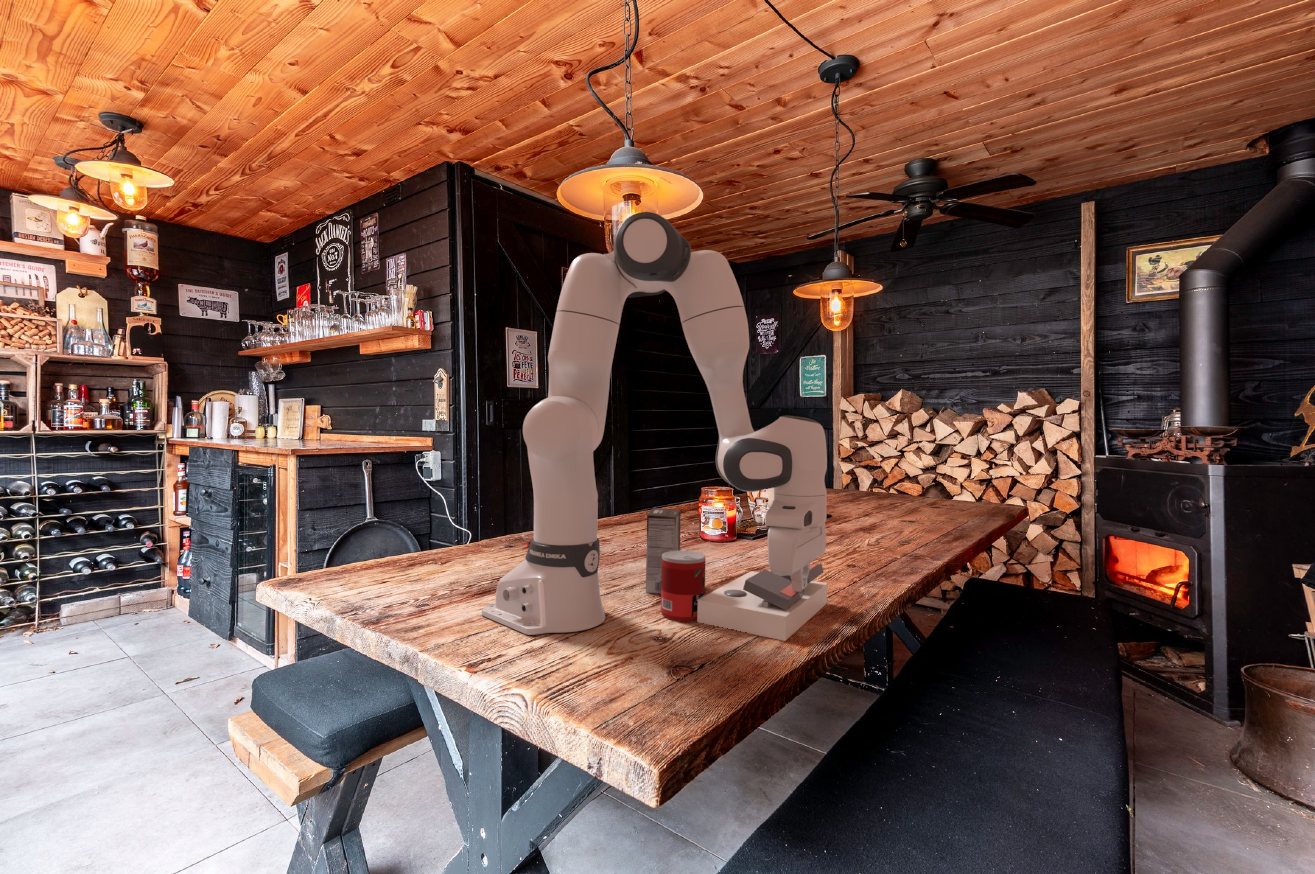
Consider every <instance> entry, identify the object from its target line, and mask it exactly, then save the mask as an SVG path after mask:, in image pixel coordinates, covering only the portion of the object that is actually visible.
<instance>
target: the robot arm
mask: <svg viewBox="0 0 1315 874" xmlns="http://www.w3.org/2000/svg"><path fill="white" fill-rule="evenodd" d="M664 292H668V293H669V294H670V295H671V296H672V297H673V299H674V302H675V304H676V306H677V310H678V314H679V318H680V323H681V327H682V331H683V333H684V337H685V341H686V343H687V345H688V349H689V350H690V354H691V355H692V358H693V360H694V361H695V364H696V366H697V368H698V370H699V372H700V374H701V376H702V379H703V380H704V382H705V385H706V388H707V391H708V393H709V397H710V403H711V406H712V410H713V411H712V412H713V414H714V415H713V416H714V420H715V423H716V428H717V434H718V441H717V447H716V452H715V457H714V458H715V466H716V470H717V473H718V474H719V476H720V477H721V479H722V480H723V481H725V482H726V483H727V484H729V485H730V486H732V487H735V488H736V489H737V490H740V491H742V492H748V493H755V492H759V491H763V490H769V489H773V496H774V497H773V498H774V499H773V501H772V504H771V506H770V507H769V509H767V512H766V513H765V516H764V517H765V518H764V523H765V525H766V526H768V527H769V528H768V531H767V558H768V559H767V560H768V567H769V571H770V572H772V573H774V574H780V575H788V576H790V577H791V580H792V590H793V591H797V592H801V591H802V590H803V589H805V588H806V587H807V578H808V574H809V570H810V565H811V563H812V562H814V560H816V559H818V558H819V557H821V556H822V555H824V554H825V552H826V547H827V535H826V534H827V533H826V529H827V528H826V521H827V513H828V512H827V509H828V508H827V504H828V503H827V500H828V499H827V495H828V491H827V488H826V482H825V476H826V473H827V469H828V453H827V440H826V439H827V438H826V434H825V429H824V428H823V425H821V423H819V422H818V421H816V420H814V419H811V418H807V417H801V416H795V415H782V416H779V418H778V419H776V420H775V421H774V422H772V423H770V424H768V425H766V426H765V427H762V428H760V429H758V430H756V431H755V430H754V428H753V426H752V422H751V418H750V413H749V408H748V404H747V400H746V395H745V392H744V391H745V390H744V383H743V380H744V379H743V378H744V377H743V376H744V368H745V364H746V361H747V356H748V353H749V350H750V333H749V330H750V329H749V323H748V316H747V313H746V310H745V309H746V307H745V304H744V300H743V296H742V294H741V291H740V287H739V285H738V282H737V279H736V278H735V274H734V273H733V270H732V268H731V265H730V263H729V261H728V259H727V258H726V257H725V255H723V254H722V253H720V252H719V251H716V250H712V249H709V250H707V249H702V250H697V251H692V246H691V244H690V242H689V241H688V240H687V239H686V238H685V237H684V236H683V235H682V234H681V233H680V232H679V231H678V229H676V227H675V226H674V225H673V224H672V223H671V222H670V221H669V220H667V219H666V218H665V217H663V216H661V215H660V214H657V213H655V212H651V211H641V212H637V213H634V214H632V215H630V216H628V217H626V219H625V220H623V222H622V223H620V226H619V227H618V229H617V231H616V234H615V236H614V241H613V251H610V252H609V253H603V254H602V253H598V252H597V253H596V252H590V253H589V252H588V253H583V254H580V255H578V256H577V257H575V258H574V259H573V260H572V262H571V264H570V266H569V269H567V273H566V275H565V278H564V281H563V284H562V288H561V291H560V295H559V297H558V298H559V299H558V303H557V307H556V312H555V317H554V322H553V328H552V333H551V339H550V343H549V349H548V355H547V362H548V393H547V398H544V399H542V400H540V401H539V402H538V403H536V404H535V405H534V406H532V408H531V409H530V410H529V411H528V412H527V414H526V415H525V417H524V419H523V424H522V435H523V440H524V442H525V445H526V449H527V457H528V465H529V472H530V476H531V477H530V478H531V483H532V489H533V490H532V491H533V537H532V539H531V540H530V541H526V542H525V541H524V542H522V543H521V545H522V547H521V548H520V549H521V550H526V549H527V551H526V554H525V557H524V558H525V559H524V560H523V561H522V562H520V563H519V564H517V565H516V566H515V567H514V568H513V569H511V570H510V571H509V572H507V573H506V574H505V575H504V576H502V577H501V578H500V580H498V583H497V586H496V591H495V600H494V601H492V602H490V603H487V605H485V606H484V607H483V608H482V609H481V616H483V617H485V618H487V619H490V620H493V621H495V622H497V623H499V624H502V625H504V626H506V627H508V628H510V629H513V630H515V631H518V632H520V633H522V634H524V635H528V636H531V635H532V636H535V635H542V634H550V633H551V634H553V633H555V634H556V633H572V632H573V633H574V632H579V631H580V632H581V631H586V630H589V629H592V628H595V627H598V626H599V625H601V624H602V623H603V622H605V620H606V613H605V610H604V606H603V603H602V597H601V589H600V582H599V571H598V570H599V565H600V559H601V558H600V557H601V555H600V554H601V553H600V552H601V551H600V549H601V548H600V538H598V517H599V516H598V514H599V513H598V512H599V511H598V509H599V508H598V507H599V506H598V505H599V501H598V500H599V499H598V497H599V493H598V489H597V485H596V476H595V463H594V451H596V449H597V448H598V447H599V445H600V444H601V442H602V440H603V436H604V433H605V428H606V427H605V425H606V418H607V412H608V411H607V410H608V403H609V392H610V381H611V380H610V379H611V371H612V365H613V360H614V354H615V350H616V344H617V339H618V335H619V330H620V324H621V318H622V313H623V309H624V305H625V302H626V299H628V298H630V299H632V298H638V297H651V296H655V295H656V296H657V295H660V294H663V293H664ZM523 545H524V546H523Z"/></svg>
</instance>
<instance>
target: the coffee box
mask: <svg viewBox="0 0 1315 874" xmlns="http://www.w3.org/2000/svg"><path fill="white" fill-rule="evenodd" d="M681 510H682V509H671V508H662V507H661V508H659V507H658V508H657V507H654V508H652V509H650V511H649V512H648V514H647V515H646V548H645V549H646V552H645V553H646V556H645V557H646V559H645V563H646V564H645V593H646V594H658V593H659V594H658V595H661V568H662V554H663V553H665V552H669V551H681V521H682V520H681Z"/></svg>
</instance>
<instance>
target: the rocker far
mask: <svg viewBox="0 0 1315 874" xmlns="http://www.w3.org/2000/svg"><path fill="white" fill-rule="evenodd" d="M822 564H823V563H822V562H820V563H813V564H810V570H809V574H808V578H807V583H810V582H811V581H815V579H817V578H818V577H820V576H821V575H822V574H824V569H823V565H822ZM777 575H779V576H781V577H783V578H786V579H788V580H790V581H792V580H791V577H790V576H788V575H780V574H777Z"/></svg>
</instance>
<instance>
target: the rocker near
mask: <svg viewBox="0 0 1315 874" xmlns="http://www.w3.org/2000/svg"><path fill="white" fill-rule="evenodd" d="M758 572H759V573H757V574H756V575H754V576H752V577H750V578H748V579H747V580H746V581H745V584H744V588H743V590H745V591H747V592H749V593H751V594H753V595H755V596H757V597H760V598H762V599H764V600H766V601H768V602H770V603H772V604H774V605H776V606H778V607H780V608H782V609H784V610H786V609H788V608H789V607H790V606H792V605H793V604H794V603H795V602H797V601H798V600H799V599H801V598H802V597H803V595H804V591H805V589H803V590H802V591H801V592H797V591H793V590H792V581H790V580H788V579H786V578H783V577H781V576H779V575H777V574H774V573H772V572H771V570H768V569H767V568H766V569H765V568H764V569H763V570H760V571H758Z"/></svg>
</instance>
